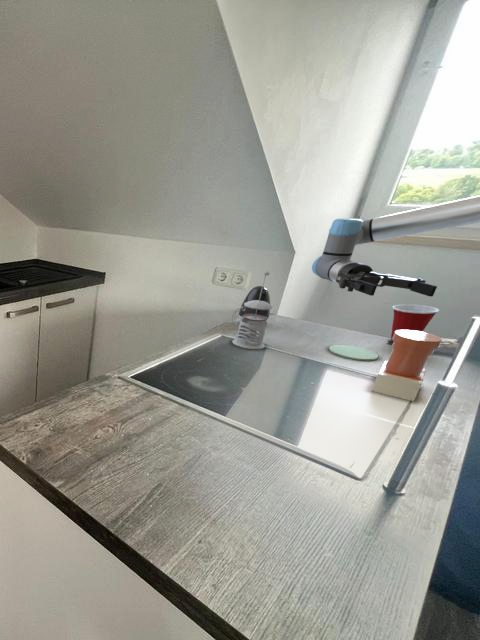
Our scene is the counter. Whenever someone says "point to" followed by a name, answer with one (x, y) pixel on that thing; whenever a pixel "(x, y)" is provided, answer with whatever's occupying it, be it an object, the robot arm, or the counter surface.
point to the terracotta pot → (411, 352)
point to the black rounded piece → (255, 295)
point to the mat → (353, 352)
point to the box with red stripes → (397, 384)
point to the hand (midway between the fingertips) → (403, 291)
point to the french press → (252, 324)
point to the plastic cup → (412, 317)
